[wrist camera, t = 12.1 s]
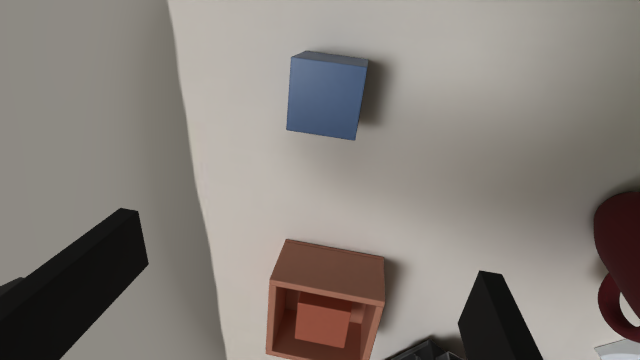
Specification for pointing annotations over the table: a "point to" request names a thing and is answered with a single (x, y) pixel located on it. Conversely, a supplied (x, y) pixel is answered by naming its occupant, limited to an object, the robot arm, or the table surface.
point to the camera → (427, 353)
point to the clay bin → (329, 280)
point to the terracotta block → (322, 319)
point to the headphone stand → (620, 350)
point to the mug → (619, 260)
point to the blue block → (325, 94)
